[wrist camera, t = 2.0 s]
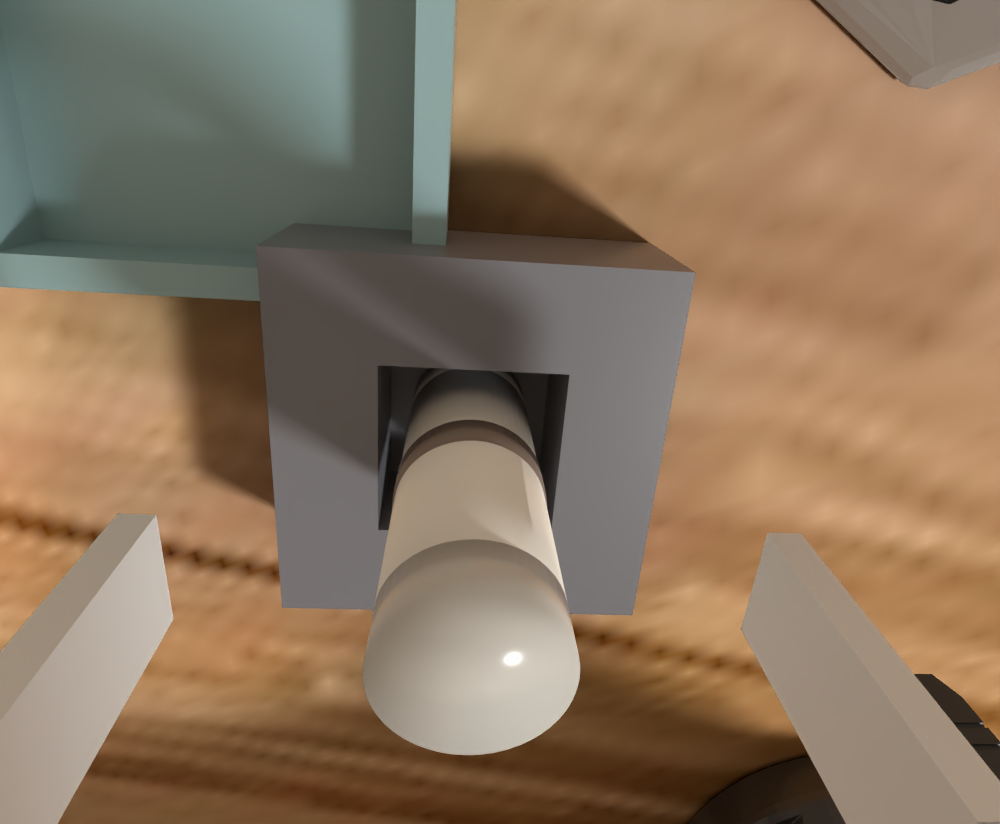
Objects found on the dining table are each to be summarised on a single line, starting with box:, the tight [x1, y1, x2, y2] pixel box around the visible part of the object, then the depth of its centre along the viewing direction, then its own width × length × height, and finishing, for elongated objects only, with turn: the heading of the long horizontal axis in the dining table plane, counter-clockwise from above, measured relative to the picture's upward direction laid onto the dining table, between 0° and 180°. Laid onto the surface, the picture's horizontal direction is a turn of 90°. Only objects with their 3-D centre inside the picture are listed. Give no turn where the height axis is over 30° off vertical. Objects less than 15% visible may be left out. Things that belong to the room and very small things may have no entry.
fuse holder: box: [256, 223, 695, 615], centre depth 23 cm, size 12×12×5 cm
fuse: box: [362, 368, 580, 755], centre depth 18 cm, size 4×4×13 cm
